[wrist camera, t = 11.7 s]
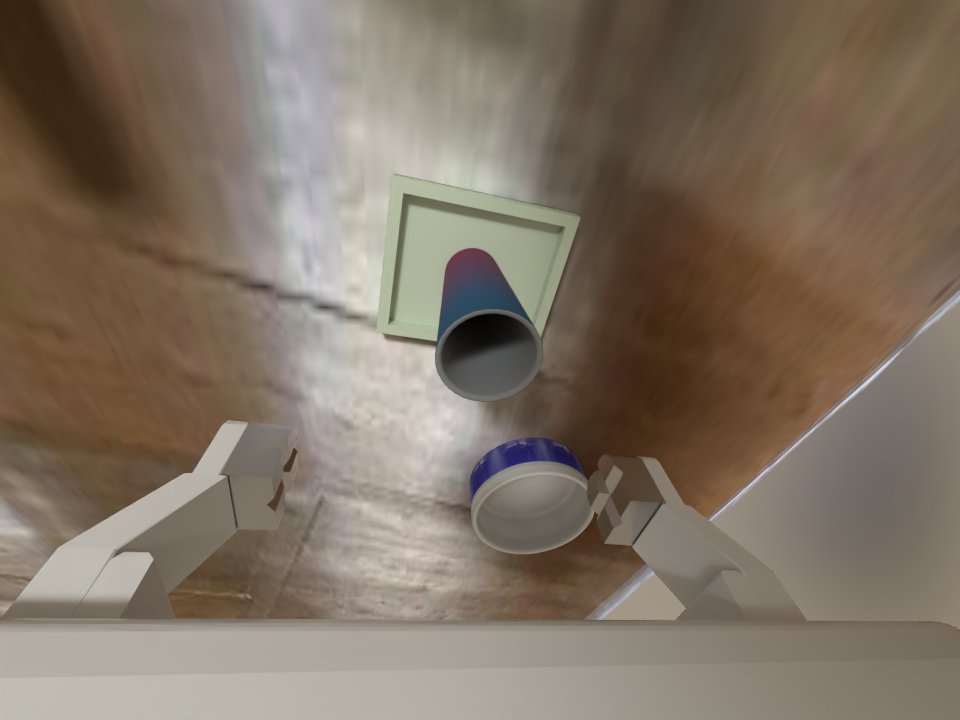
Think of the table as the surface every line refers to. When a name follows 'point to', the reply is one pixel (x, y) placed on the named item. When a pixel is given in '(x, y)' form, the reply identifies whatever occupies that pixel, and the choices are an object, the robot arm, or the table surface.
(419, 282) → the tray
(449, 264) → the cup
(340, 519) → the table surface
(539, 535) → the dog bowl
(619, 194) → the table surface
